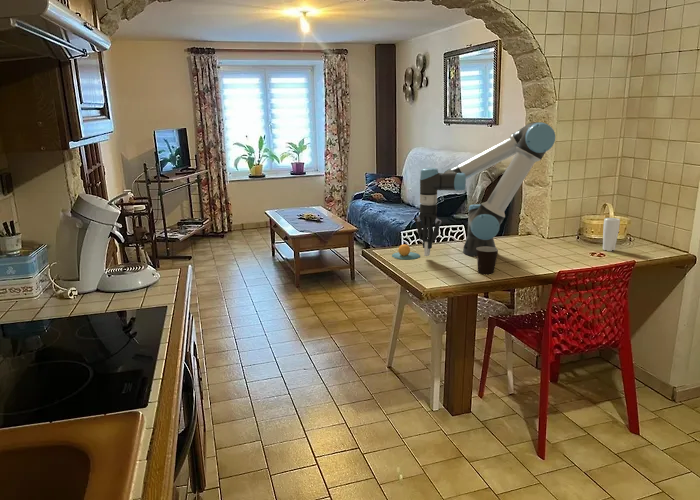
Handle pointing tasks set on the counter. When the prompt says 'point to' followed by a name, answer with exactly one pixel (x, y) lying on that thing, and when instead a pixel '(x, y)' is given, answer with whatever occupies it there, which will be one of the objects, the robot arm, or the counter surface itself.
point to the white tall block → (610, 233)
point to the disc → (408, 257)
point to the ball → (404, 250)
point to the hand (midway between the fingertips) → (427, 255)
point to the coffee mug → (486, 259)
